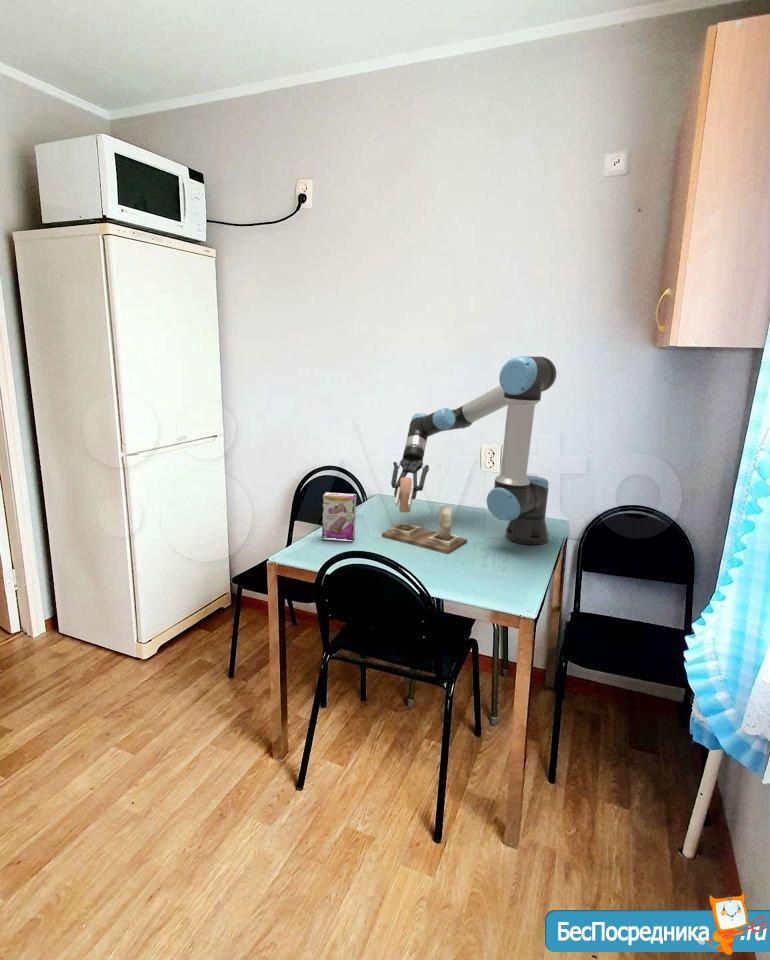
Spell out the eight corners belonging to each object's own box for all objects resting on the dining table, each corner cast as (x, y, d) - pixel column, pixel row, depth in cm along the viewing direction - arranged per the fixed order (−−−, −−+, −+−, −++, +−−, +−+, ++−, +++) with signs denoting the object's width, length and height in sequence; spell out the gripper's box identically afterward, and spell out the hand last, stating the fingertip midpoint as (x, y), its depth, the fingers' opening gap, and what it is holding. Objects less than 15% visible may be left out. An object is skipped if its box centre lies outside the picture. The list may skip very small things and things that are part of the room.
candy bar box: (321, 540, 195) (321, 495, 191) (324, 536, 200) (324, 491, 196) (353, 542, 194) (354, 497, 190) (355, 537, 199) (356, 493, 195)
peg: (412, 510, 203) (414, 478, 200) (406, 513, 199) (408, 480, 196) (403, 508, 205) (404, 476, 202) (397, 511, 202) (398, 478, 199)
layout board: (467, 542, 198) (469, 506, 194) (448, 553, 186) (450, 516, 183) (402, 526, 212) (404, 493, 209) (381, 536, 201) (382, 501, 198)
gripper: (437, 458, 210) (427, 513, 199) (393, 454, 214) (381, 507, 203) (436, 446, 204) (425, 502, 192) (390, 443, 208) (377, 497, 196)
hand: (402, 505), depth 198 cm, fingers closed on peg, 4 cm apart
